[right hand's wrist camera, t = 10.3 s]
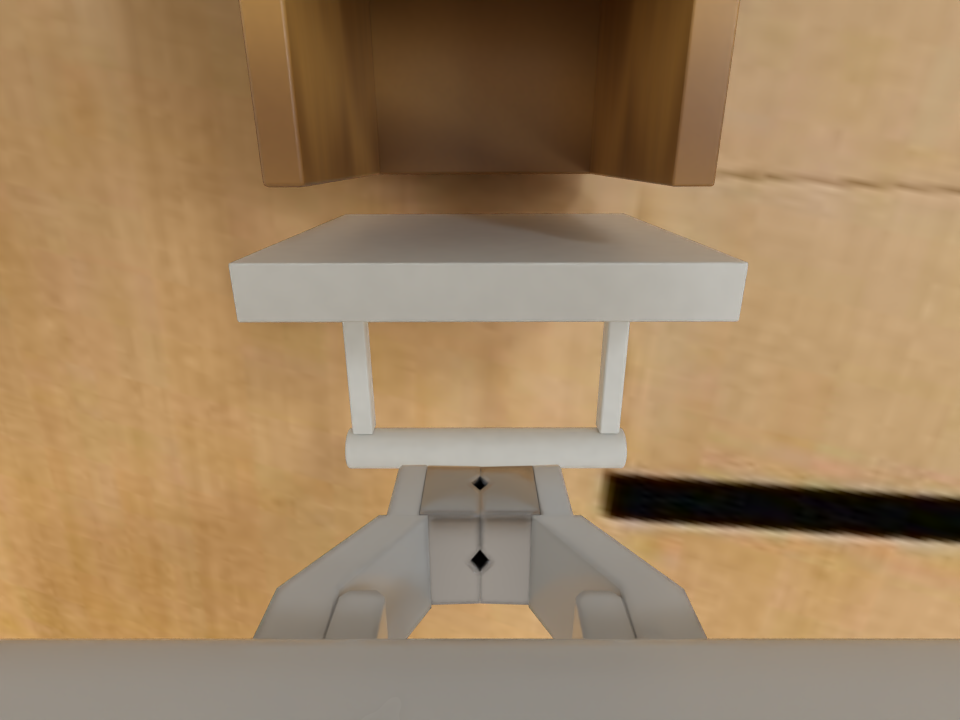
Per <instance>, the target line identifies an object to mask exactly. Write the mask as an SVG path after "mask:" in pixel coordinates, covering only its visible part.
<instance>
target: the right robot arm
mask: <svg viewBox="0 0 960 720" xmlns="http://www.w3.org/2000/svg"><path fill="white" fill-rule="evenodd" d="M474 603H485V604H521V605H529V608H530V609H531V610H532V612H533V613H534V614H535V616H536V617H537V618H538V619H539V621H540V622H541V623H542V625H543V626H544V627H545V628H546V630H547V631H548V632H549V633H550V635H551V636H552V637H553V639H407V638H408V636H409V635H410V634H411V633H412V631H413V630H414V629H415V628H416V626H417V625H418V624H419V622H420V621H421V620H422V619H423V617H424V616H425V615H426V614H427V612H428V611H429V610H430V608H431V605H439V604H474ZM0 720H960V639H707V637H706V635H705V633H704V631H703V629H702V626H701V624H700V622H699V620H698V618H697V616H696V614H695V612H694V610H693V607H692V605H691V603H690V601H689V599H688V597H687V595H686V593H685V590H684V589H683V588H682V587H680V586H679V585H677V584H676V583H675V582H673V581H672V580H670V579H669V578H668V577H666V576H665V575H663V574H662V573H661V572H659V571H658V570H657V569H655V568H654V567H652V566H651V565H650V564H648V563H647V562H645V561H644V560H643V559H641V558H640V557H638V556H637V555H636V554H634V553H633V552H631V551H630V550H629V549H627V548H626V547H624V546H623V545H622V544H620V543H619V542H617V541H616V540H615V539H613V538H612V537H611V536H609V535H608V534H606V533H605V532H604V531H602V530H601V529H599V528H598V527H597V526H595V525H594V524H592V523H591V522H590V521H588V520H587V519H585V518H584V517H583V516H581V515H573V512H572V508H571V505H570V501H569V497H568V493H567V490H566V486H565V482H564V478H563V475H562V471H561V467H560V466H559V465H536V466H493V467H480V466H443V465H429V466H427V465H402V466H401V467H400V468H399V470H398V474H397V478H396V482H395V486H394V489H393V493H392V497H391V501H390V504H389V508H388V512H387V515H379V516H377V517H376V518H375V519H373V520H372V521H370V522H369V523H368V524H366V525H365V526H363V527H362V528H361V529H359V530H358V531H356V532H355V533H354V534H352V535H351V536H349V537H348V538H347V539H345V540H344V541H342V542H341V543H340V544H338V545H337V546H335V547H334V548H333V549H331V550H330V551H328V552H327V553H326V554H324V555H323V556H321V557H320V558H319V559H317V560H316V561H314V562H313V563H312V564H310V565H309V566H307V567H306V568H305V569H303V570H302V571H300V572H299V573H298V574H296V575H295V576H293V577H292V578H291V579H289V580H288V581H286V582H285V583H284V584H282V585H281V586H279V587H278V588H277V589H276V591H275V593H274V595H273V597H272V599H271V602H270V604H269V606H268V608H267V610H266V612H265V614H264V616H263V618H262V620H261V622H260V625H259V627H258V629H257V631H256V633H255V635H254V637H253V639H0Z"/></svg>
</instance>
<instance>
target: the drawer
mask: <svg viewBox="0 0 960 720" xmlns="http://www.w3.org/2000/svg"><path fill="white" fill-rule="evenodd" d="M739 4H740V0H239V6H240V13H241V20H242V28H243V35H244V43H245V50H246V58H247V65H248V73H249V80H250V87H251V95H252V102H253V110H254V117H255V125H256V132H257V140H258V147H259V155H260V162H261V169H262V177H263V183H264V185H265V186H267V187H305V186H311V185H317V184H323V183H329V182H335V181H341V180H347V179H353V178H359V177H365V176H371V175H377V174H595V175H602V176H609V177H615V178H622V179H628V180H635V181H642V182H648V183H655V184H661V185H668V186H713V185H714V181H715V174H716V167H717V160H718V153H719V146H720V139H721V131H722V124H723V117H724V110H725V103H726V96H727V89H728V82H729V75H730V68H731V61H732V53H733V46H734V39H735V32H736V25H737V18H738V11H739ZM747 269H748V263H747V262H745V261H743V260H740V259H738V258H735V257H732V256H730V255H727V254H725V253H722V252H720V251H717V250H715V249H712V248H710V247H707V246H705V245H702V244H700V243H697V242H694V241H692V240H689V239H687V238H684V237H682V236H679V235H677V234H674V233H672V232H669V231H667V230H664V229H662V228H659V227H656V226H654V225H651V224H649V223H646V222H644V221H641V220H639V219H636V218H634V217H631V216H629V215H626V214H345V215H343V216H340V217H338V218H336V219H333V220H331V221H329V222H326V223H324V224H321V225H319V226H317V227H314V228H312V229H310V230H307V231H305V232H302V233H300V234H298V235H295V236H293V237H291V238H288V239H286V240H284V241H281V242H279V243H276V244H274V245H272V246H269V247H267V248H265V249H262V250H260V251H257V252H255V253H253V254H250V255H248V256H246V257H243V258H241V259H239V260H236V261H234V262H231V263H229V271H230V277H231V283H232V289H233V295H234V301H235V308H236V314H237V320H238V322H342V324H343V334H344V345H345V356H346V366H347V377H348V388H349V398H350V409H351V420H352V428H350V429H349V431H348V434H347V437H346V445H345V457H346V463H347V466H348V467H349V468H400V467H401V466H402V465H427V466H429V465H443V466H480V467H493V466H536V465H559V466H560V467H561V468H623V467H624V466H625V463H626V457H627V444H626V437H625V434H624V431H623V429H622V428H620V418H621V407H622V397H623V387H624V377H625V366H626V356H627V346H628V336H629V326H630V322H736V321H738V320H739V316H740V310H741V304H742V298H743V292H744V287H745V281H746V275H747ZM368 322H604V330H603V343H602V355H601V367H600V380H599V392H598V405H597V417H596V426H597V428H375V426H376V420H375V407H374V394H373V381H372V367H371V354H370V341H369V328H368Z"/></svg>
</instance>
